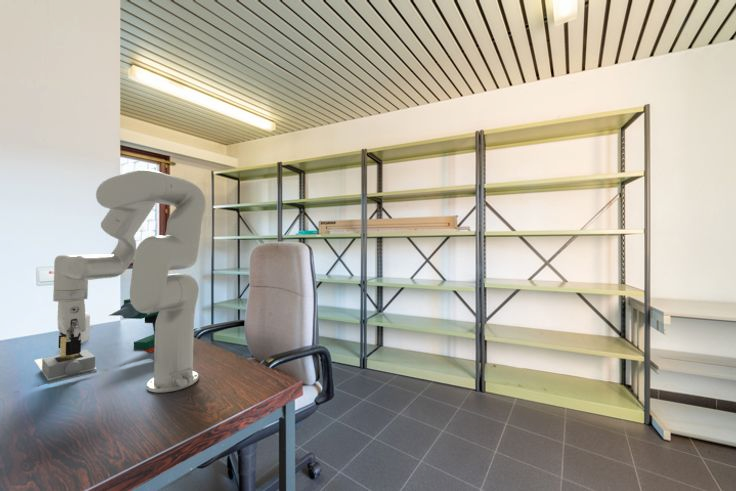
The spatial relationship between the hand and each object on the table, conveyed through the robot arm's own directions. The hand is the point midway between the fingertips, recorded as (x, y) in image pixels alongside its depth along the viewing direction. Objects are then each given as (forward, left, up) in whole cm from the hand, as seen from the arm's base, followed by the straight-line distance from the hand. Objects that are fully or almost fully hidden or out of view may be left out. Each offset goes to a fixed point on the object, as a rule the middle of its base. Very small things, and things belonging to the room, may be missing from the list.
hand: (69, 350), depth 92 cm
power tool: (+5, -21, -7) cm, 23 cm away
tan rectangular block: (0, 0, -6) cm, 6 cm away
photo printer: (+33, -8, -7) cm, 35 cm away
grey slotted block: (+6, 0, -7) cm, 9 cm away
